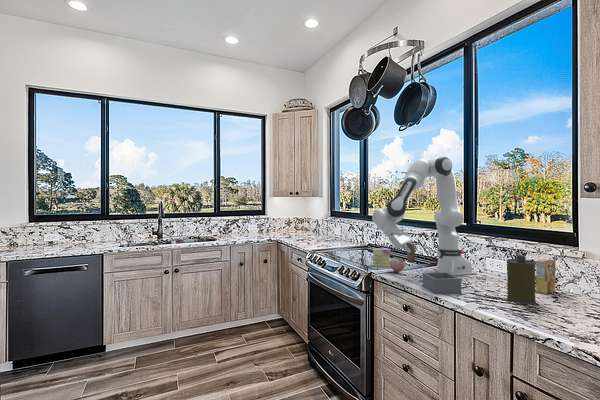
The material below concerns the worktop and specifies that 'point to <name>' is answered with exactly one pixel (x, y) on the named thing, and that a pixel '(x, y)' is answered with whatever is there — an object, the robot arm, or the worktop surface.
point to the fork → (411, 263)
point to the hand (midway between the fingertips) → (412, 251)
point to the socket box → (442, 283)
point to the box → (381, 257)
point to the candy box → (545, 276)
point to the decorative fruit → (397, 264)
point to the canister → (521, 280)
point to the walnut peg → (411, 253)
